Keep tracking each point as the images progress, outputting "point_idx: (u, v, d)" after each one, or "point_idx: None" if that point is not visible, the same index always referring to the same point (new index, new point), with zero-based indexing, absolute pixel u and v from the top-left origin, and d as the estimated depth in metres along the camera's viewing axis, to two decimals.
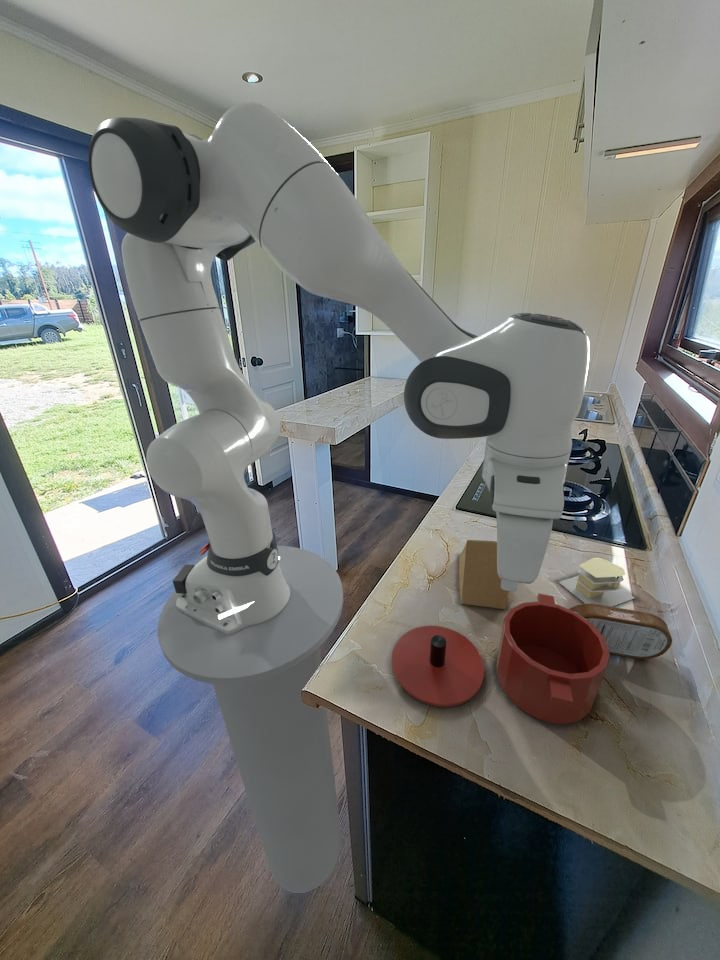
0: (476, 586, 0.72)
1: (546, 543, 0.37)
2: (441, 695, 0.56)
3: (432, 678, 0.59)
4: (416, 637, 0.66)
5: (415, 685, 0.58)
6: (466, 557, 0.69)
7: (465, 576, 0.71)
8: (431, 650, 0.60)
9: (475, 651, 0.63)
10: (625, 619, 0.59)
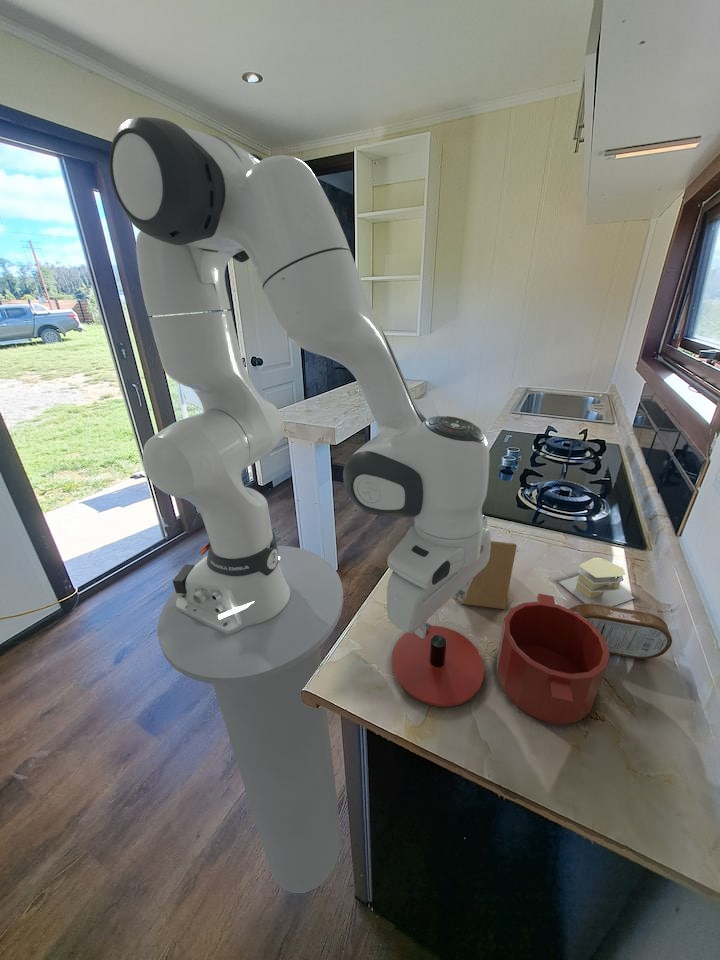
0: (476, 586, 0.72)
1: (413, 605, 0.46)
2: (441, 695, 0.56)
3: (432, 678, 0.59)
4: (416, 637, 0.66)
5: (415, 685, 0.58)
6: None
7: None
8: (431, 650, 0.60)
9: (475, 651, 0.63)
10: (625, 619, 0.59)
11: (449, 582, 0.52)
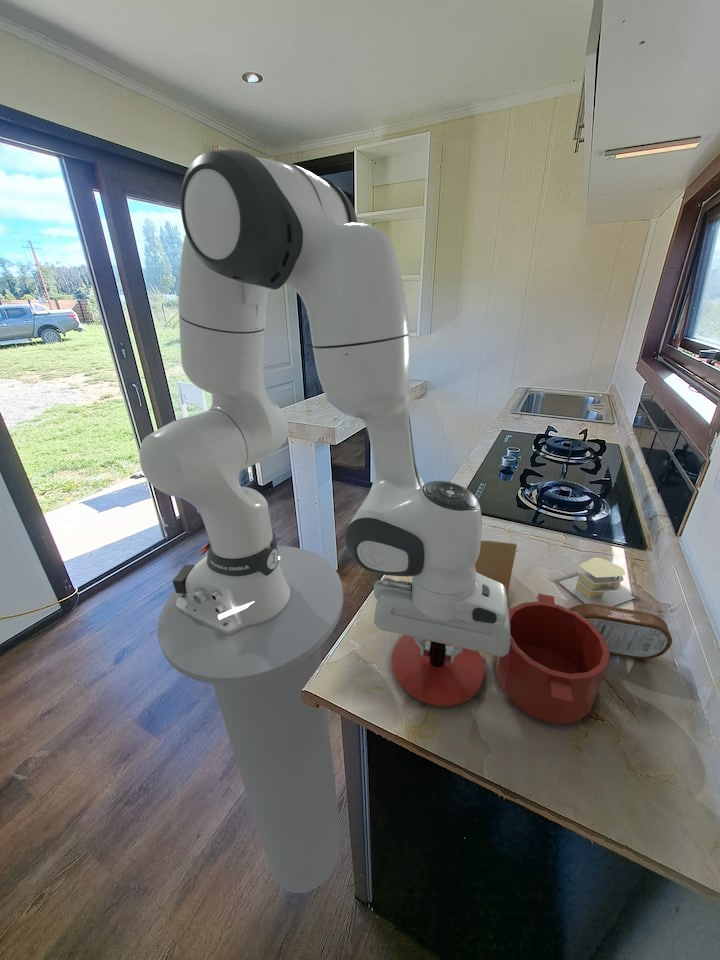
0: None
1: (508, 611, 0.56)
2: (441, 695, 0.56)
3: (432, 678, 0.59)
4: None
5: (414, 685, 0.58)
6: None
7: None
8: (431, 650, 0.60)
9: (475, 651, 0.63)
10: (625, 619, 0.59)
11: None
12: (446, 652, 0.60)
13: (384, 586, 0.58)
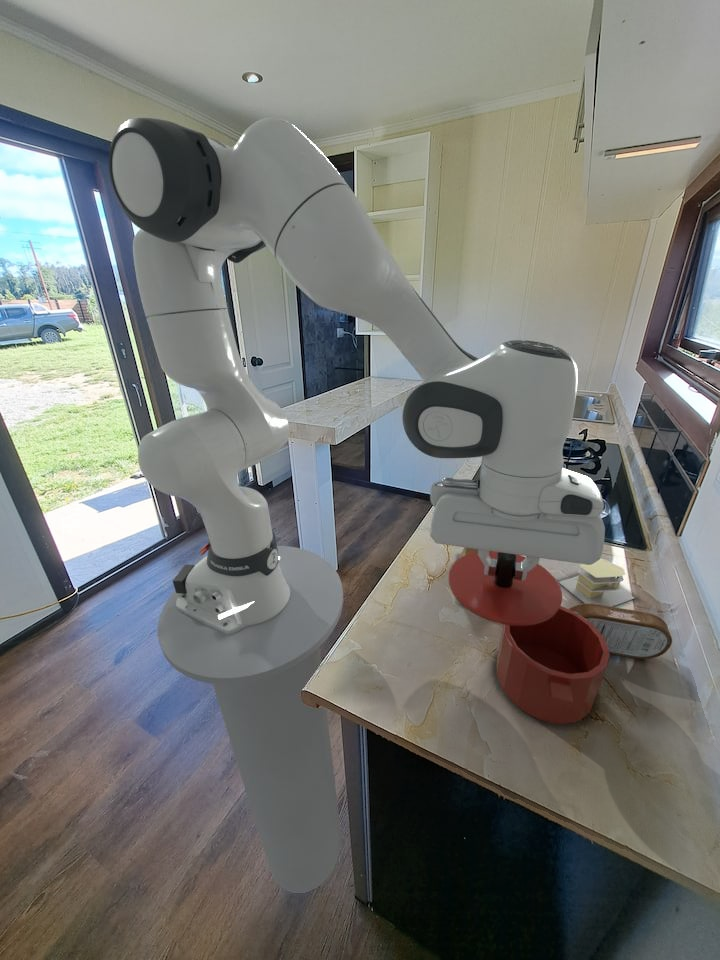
0: None
1: None
2: (515, 614, 0.47)
3: (501, 598, 0.50)
4: (474, 561, 0.57)
5: (481, 604, 0.49)
6: None
7: None
8: (498, 567, 0.51)
9: (546, 572, 0.54)
10: (625, 619, 0.59)
11: None
12: (517, 568, 0.50)
13: (444, 487, 0.49)
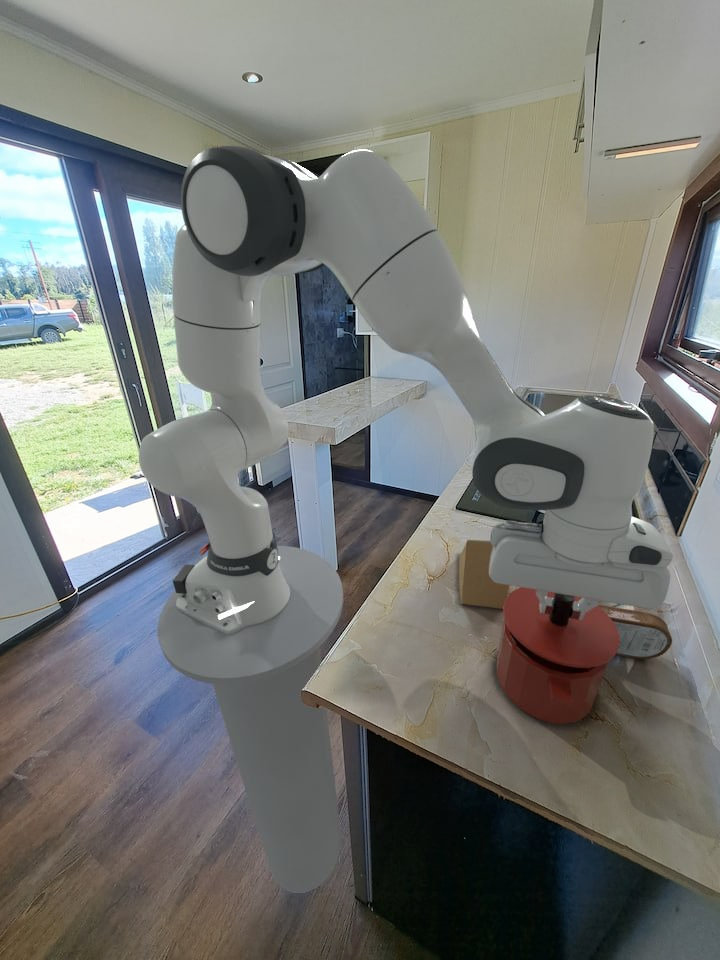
0: (476, 586, 0.72)
1: None
2: (576, 655, 0.48)
3: (559, 637, 0.51)
4: (525, 596, 0.58)
5: (541, 644, 0.50)
6: (466, 557, 0.69)
7: (465, 576, 0.71)
8: (555, 606, 0.52)
9: (599, 610, 0.55)
10: (625, 619, 0.59)
11: None
12: (574, 608, 0.52)
13: (506, 530, 0.50)
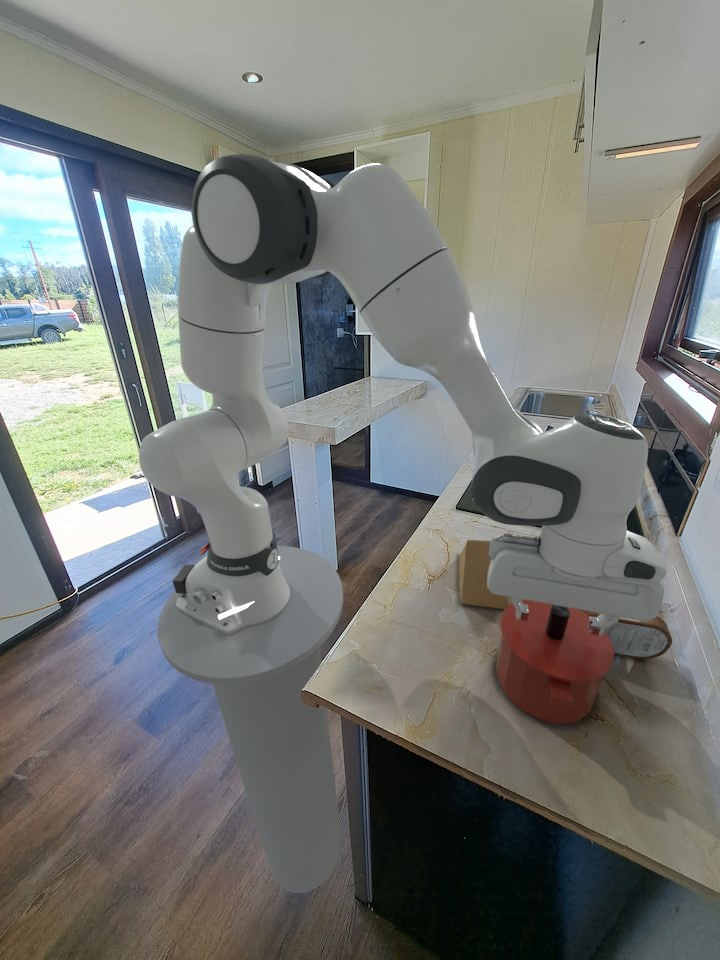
0: (476, 586, 0.72)
1: None
2: (571, 669, 0.50)
3: (555, 651, 0.52)
4: None
5: (537, 658, 0.51)
6: (466, 557, 0.69)
7: (465, 576, 0.71)
8: (551, 620, 0.53)
9: None
10: (625, 619, 0.59)
11: None
12: (594, 624, 0.52)
13: (504, 543, 0.51)
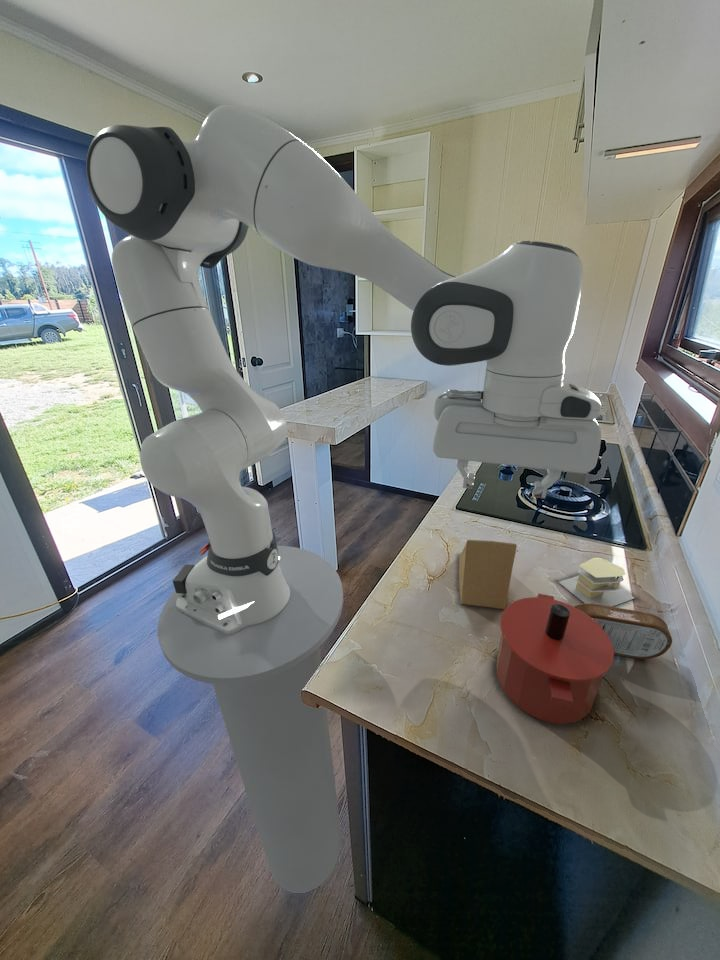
0: (476, 586, 0.72)
1: None
2: (571, 669, 0.50)
3: (555, 651, 0.52)
4: (522, 609, 0.59)
5: (537, 658, 0.51)
6: (466, 557, 0.69)
7: (465, 576, 0.71)
8: (551, 620, 0.53)
9: (594, 623, 0.56)
10: (625, 619, 0.59)
11: None
12: (537, 485, 0.52)
13: (448, 399, 0.50)
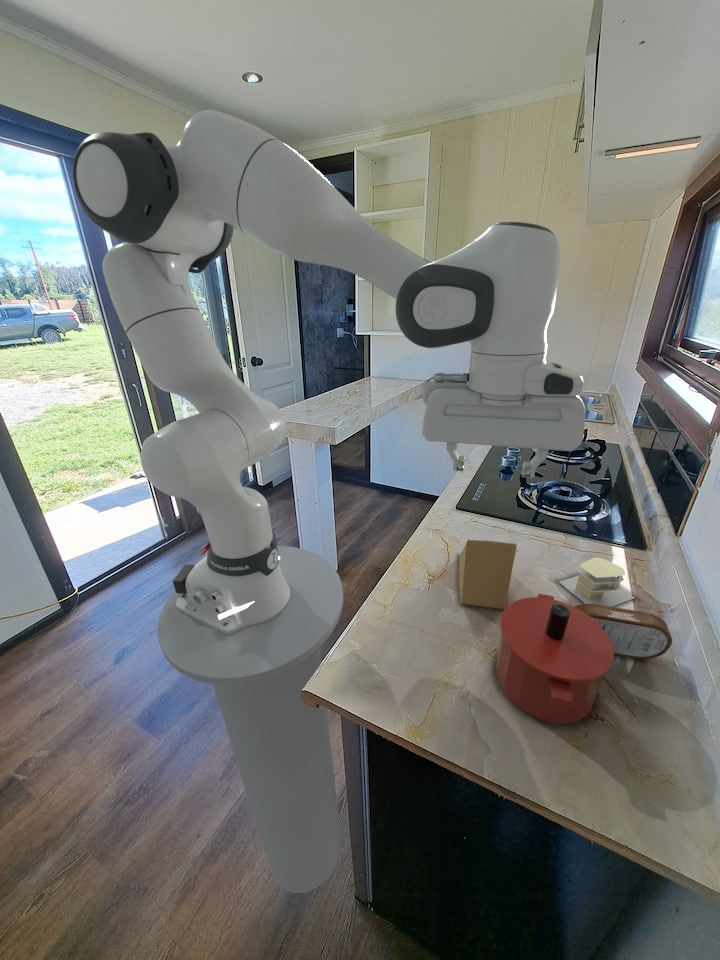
0: (476, 586, 0.72)
1: None
2: (571, 669, 0.50)
3: (555, 651, 0.52)
4: (522, 609, 0.59)
5: (537, 658, 0.51)
6: (466, 557, 0.69)
7: (465, 576, 0.71)
8: (551, 620, 0.53)
9: (594, 623, 0.56)
10: (625, 619, 0.59)
11: None
12: (525, 465, 0.52)
13: (435, 382, 0.51)
